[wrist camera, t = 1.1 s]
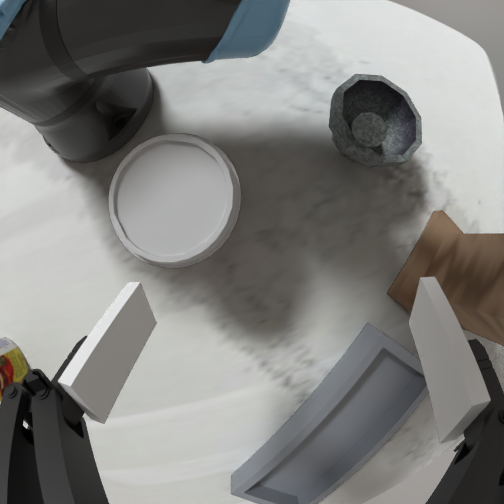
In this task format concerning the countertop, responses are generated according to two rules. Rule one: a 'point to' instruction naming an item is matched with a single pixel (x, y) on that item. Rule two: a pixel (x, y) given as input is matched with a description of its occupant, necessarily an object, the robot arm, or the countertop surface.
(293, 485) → the tray
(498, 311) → the post stand
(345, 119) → the mortar and pestle
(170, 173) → the disposable coffee cup
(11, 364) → the canned food
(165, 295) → the countertop surface
